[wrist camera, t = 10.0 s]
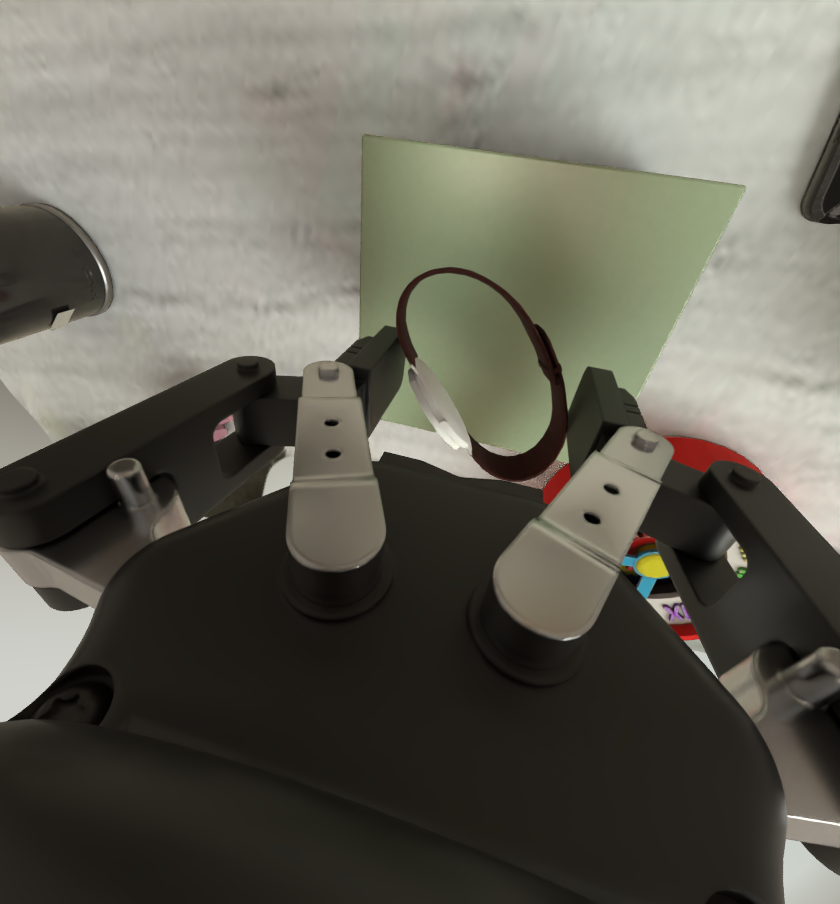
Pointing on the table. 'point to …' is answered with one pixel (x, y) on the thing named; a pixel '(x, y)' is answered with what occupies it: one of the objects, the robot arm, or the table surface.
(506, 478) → the watch
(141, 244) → the table surface
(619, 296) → the small side table
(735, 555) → the toy clock
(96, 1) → the table surface
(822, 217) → the phone
